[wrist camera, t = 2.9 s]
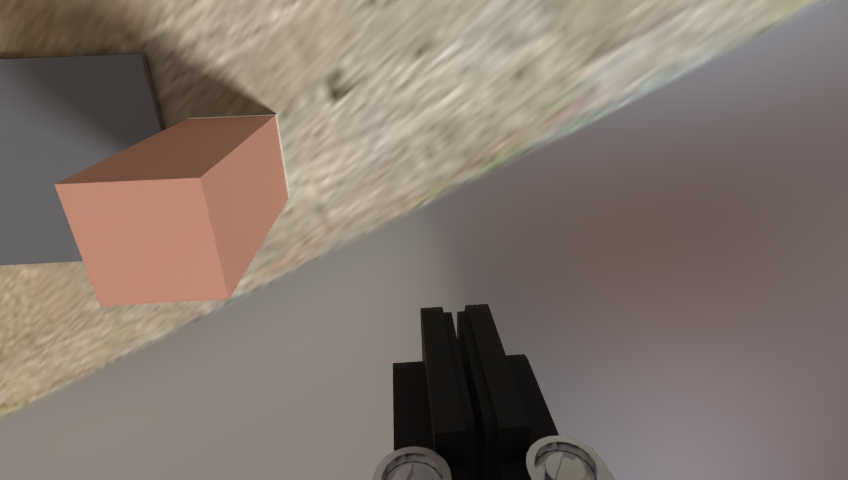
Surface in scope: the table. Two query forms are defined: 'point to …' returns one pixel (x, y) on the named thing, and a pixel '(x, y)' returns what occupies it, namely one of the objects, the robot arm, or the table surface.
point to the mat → (63, 140)
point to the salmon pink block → (178, 210)
